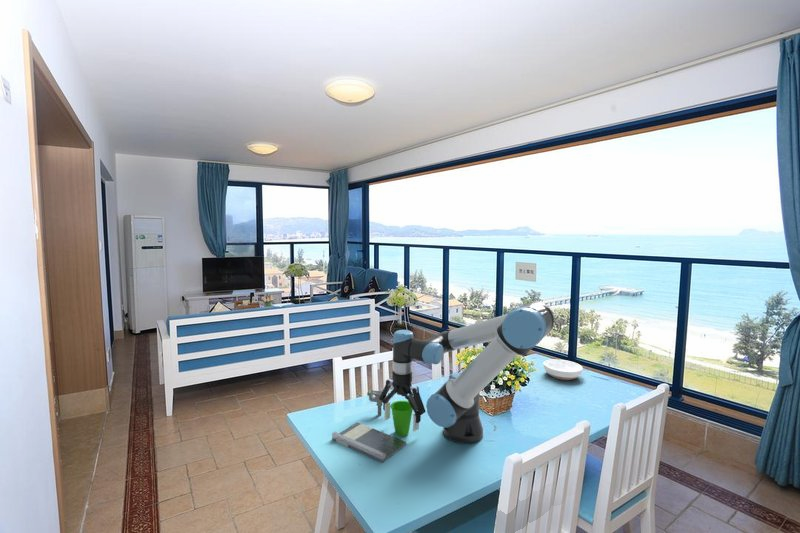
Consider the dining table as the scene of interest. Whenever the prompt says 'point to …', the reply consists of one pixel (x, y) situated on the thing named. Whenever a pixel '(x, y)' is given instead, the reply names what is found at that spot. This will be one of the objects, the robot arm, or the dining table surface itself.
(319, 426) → the dining table surface
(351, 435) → the grey flat piece
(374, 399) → the mechanical component
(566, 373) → the bowl
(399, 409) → the cup
